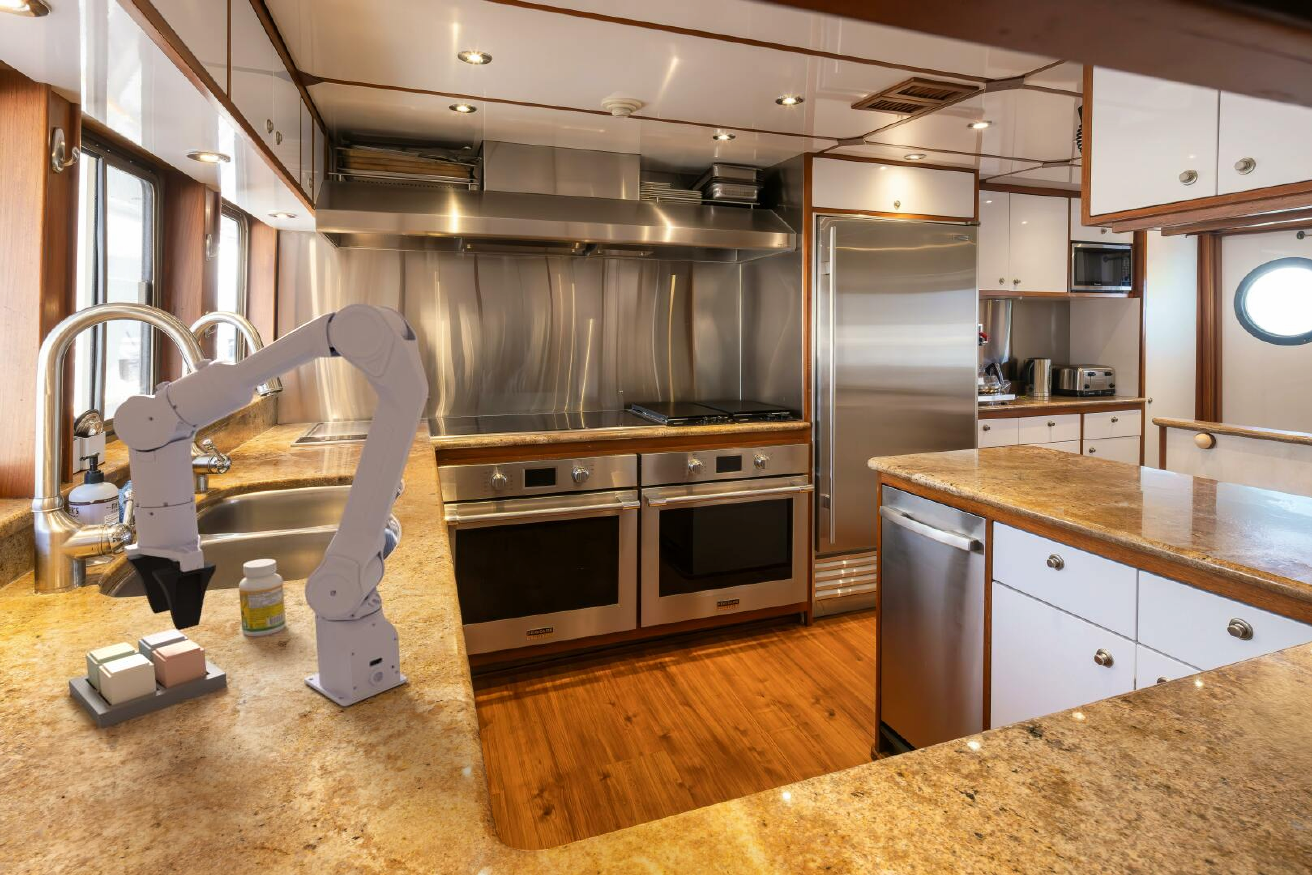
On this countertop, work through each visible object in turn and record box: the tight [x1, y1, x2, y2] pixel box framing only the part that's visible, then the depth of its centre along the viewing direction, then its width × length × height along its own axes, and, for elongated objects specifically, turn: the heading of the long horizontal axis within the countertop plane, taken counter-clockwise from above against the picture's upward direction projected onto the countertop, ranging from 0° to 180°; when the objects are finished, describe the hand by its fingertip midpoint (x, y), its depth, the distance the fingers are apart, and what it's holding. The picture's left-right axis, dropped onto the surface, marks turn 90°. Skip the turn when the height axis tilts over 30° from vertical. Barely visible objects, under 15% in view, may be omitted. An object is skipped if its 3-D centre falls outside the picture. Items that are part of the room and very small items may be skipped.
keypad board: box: [68, 658, 228, 730], centre depth 83 cm, size 12×12×2 cm
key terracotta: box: [152, 639, 207, 688], centre depth 83 cm, size 4×4×4 cm
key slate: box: [137, 628, 190, 663], centre depth 86 cm, size 4×4×4 cm
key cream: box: [99, 654, 156, 706], centre depth 79 cm, size 4×4×4 cm
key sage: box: [85, 641, 139, 691], centre depth 82 cm, size 4×4×4 cm
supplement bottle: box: [238, 558, 287, 637], centre depth 100 cm, size 5×5×10 cm
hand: (175, 618), depth 82 cm, fingers open, 7 cm apart
